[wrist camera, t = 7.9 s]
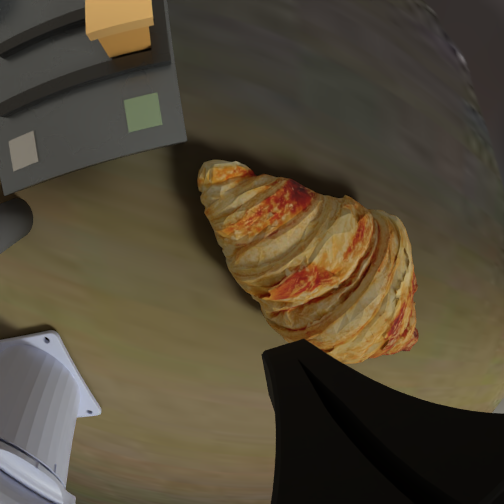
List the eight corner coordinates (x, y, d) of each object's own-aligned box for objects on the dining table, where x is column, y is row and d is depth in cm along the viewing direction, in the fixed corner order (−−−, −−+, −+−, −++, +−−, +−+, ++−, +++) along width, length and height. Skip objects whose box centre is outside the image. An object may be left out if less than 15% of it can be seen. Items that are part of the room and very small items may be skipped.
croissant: (167, 199, 20) (122, 284, 14) (269, 82, 15) (265, 115, 9) (360, 334, 28) (371, 409, 22) (448, 279, 23) (481, 355, 16)
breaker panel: (23, 189, 14) (-3, 198, 11) (11, 16, 10) (-11, -2, 6) (184, 142, 16) (188, 140, 13) (160, -33, 11) (161, -62, 8)
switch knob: (106, 62, 11) (86, 34, 7) (102, 18, 10) (85, -19, 6) (156, 50, 11) (153, 17, 8) (151, 7, 10) (148, -34, 7)
